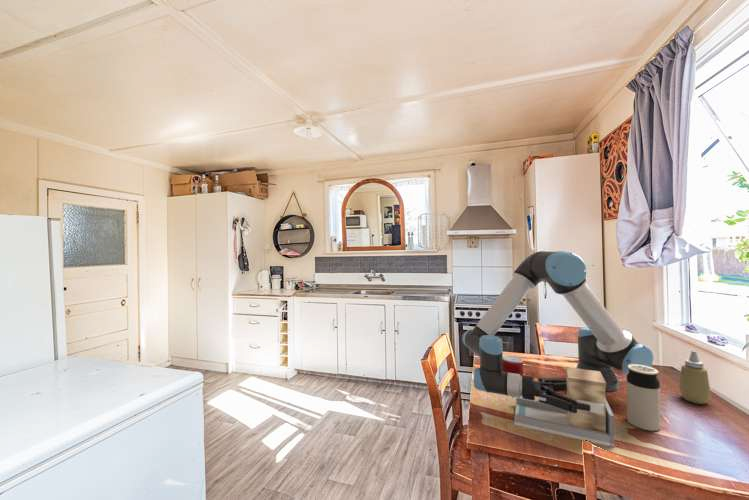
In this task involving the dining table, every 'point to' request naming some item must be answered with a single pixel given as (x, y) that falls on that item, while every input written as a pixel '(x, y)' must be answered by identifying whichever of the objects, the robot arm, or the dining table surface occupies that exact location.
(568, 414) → the wooden block
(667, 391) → the dining table surface
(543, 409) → the bay
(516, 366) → the canned food
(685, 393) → the squeeze bottle
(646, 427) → the travel mug
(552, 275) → the robot arm
